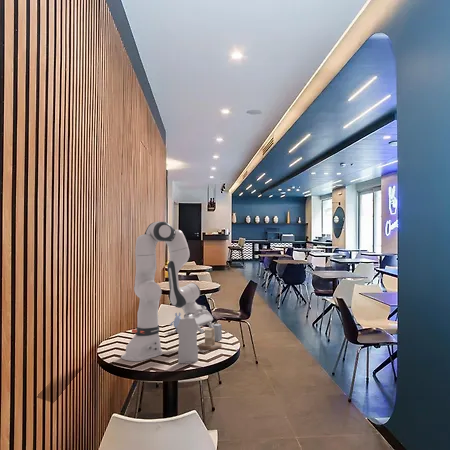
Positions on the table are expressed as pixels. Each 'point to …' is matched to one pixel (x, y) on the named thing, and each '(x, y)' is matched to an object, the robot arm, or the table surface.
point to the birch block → (209, 337)
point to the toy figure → (176, 321)
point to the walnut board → (214, 347)
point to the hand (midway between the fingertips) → (207, 330)
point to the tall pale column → (187, 340)
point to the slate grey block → (218, 331)
